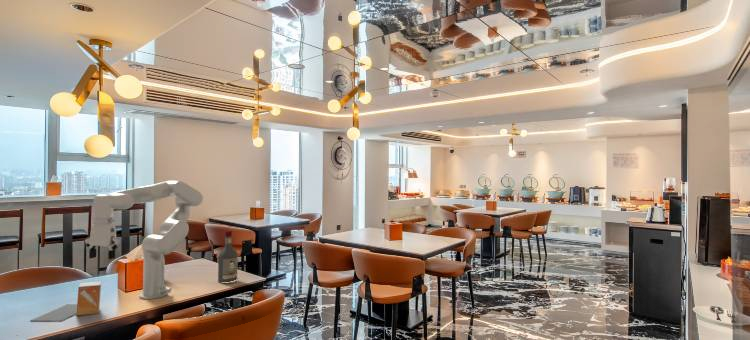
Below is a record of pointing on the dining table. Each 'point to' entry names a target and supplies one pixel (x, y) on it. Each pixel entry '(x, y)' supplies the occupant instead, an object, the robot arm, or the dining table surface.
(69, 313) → the mat
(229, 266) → the liquor
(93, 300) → the small box
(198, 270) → the dining table surface
